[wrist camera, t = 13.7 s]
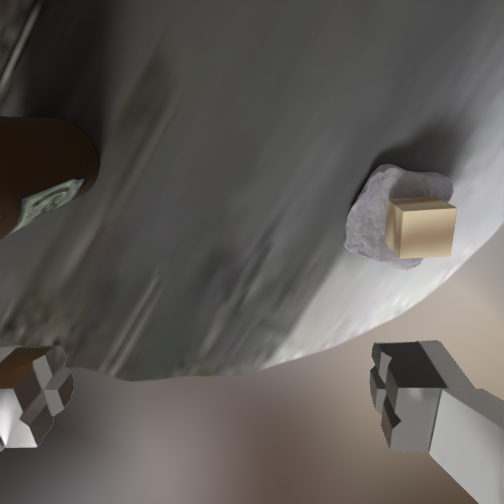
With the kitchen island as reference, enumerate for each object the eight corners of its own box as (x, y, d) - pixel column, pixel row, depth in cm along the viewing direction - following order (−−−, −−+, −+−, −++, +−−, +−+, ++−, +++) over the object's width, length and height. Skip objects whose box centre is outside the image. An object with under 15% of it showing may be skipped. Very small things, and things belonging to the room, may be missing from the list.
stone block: (335, 244, 46) (411, 265, 44) (335, 254, 41) (419, 279, 40) (365, 154, 42) (449, 175, 40) (368, 156, 37) (463, 178, 36)
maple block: (387, 199, 38) (403, 211, 33) (434, 196, 37) (457, 208, 33) (384, 241, 40) (399, 258, 35) (429, 239, 39) (450, 256, 35)
